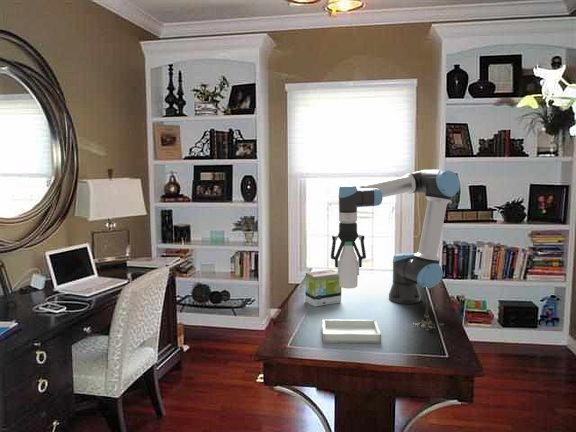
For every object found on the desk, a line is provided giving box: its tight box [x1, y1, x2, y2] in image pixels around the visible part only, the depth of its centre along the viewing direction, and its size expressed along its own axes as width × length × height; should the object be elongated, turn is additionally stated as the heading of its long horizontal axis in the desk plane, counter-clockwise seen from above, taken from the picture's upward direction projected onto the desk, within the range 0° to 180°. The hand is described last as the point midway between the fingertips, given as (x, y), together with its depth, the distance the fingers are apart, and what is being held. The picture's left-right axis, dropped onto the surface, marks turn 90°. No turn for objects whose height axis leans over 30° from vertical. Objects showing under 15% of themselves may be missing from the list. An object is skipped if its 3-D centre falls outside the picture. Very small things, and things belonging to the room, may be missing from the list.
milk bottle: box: [339, 241, 358, 289], centre depth 203 cm, size 8×8×20 cm
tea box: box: [304, 269, 342, 308], centre depth 231 cm, size 15×10×15 cm, turn 117°
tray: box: [321, 318, 382, 344], centre depth 189 cm, size 22×16×4 cm
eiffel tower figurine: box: [408, 299, 445, 331], centre depth 197 cm, size 15×10×13 cm
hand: (348, 274), depth 204 cm, fingers closed on milk bottle, 7 cm apart
